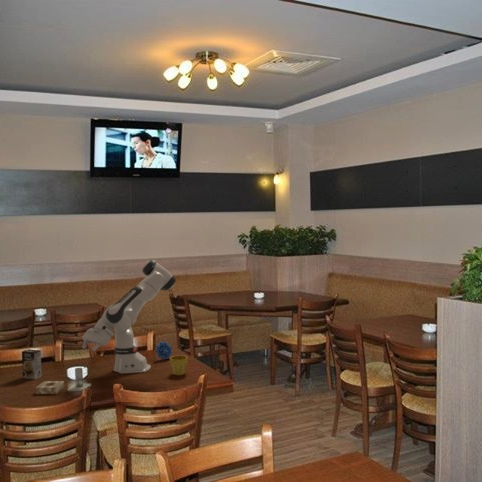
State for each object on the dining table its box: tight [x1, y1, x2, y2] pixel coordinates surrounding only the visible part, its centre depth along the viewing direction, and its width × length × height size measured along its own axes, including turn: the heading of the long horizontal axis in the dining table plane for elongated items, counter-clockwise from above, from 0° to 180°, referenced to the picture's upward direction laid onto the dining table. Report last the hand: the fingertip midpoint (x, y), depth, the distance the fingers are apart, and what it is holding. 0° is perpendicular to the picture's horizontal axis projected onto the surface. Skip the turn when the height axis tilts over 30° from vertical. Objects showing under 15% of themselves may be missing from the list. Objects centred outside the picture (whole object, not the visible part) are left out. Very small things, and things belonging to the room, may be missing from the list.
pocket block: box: [35, 380, 65, 395], centre depth 320 cm, size 11×11×4 cm
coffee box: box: [21, 348, 42, 380], centre depth 346 cm, size 9×6×16 cm
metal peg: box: [74, 367, 84, 388], centre depth 323 cm, size 4×4×10 cm
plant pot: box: [169, 355, 188, 376], centre depth 346 cm, size 10×10×10 cm
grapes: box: [155, 341, 173, 360], centre depth 379 cm, size 12×7×12 cm, turn 119°
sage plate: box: [67, 383, 92, 392], centre depth 323 cm, size 10×10×1 cm
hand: (88, 349), depth 328 cm, fingers open, 8 cm apart
